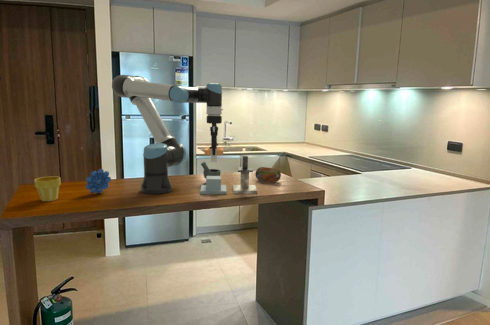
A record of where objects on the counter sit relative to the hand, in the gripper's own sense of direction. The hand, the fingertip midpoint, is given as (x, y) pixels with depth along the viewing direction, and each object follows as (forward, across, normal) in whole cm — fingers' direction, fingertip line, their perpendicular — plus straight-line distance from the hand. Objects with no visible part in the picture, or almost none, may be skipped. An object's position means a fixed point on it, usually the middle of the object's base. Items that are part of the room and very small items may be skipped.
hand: (214, 159), depth 180 cm
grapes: (+16, -5, +56) cm, 59 cm away
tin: (+17, +22, -31) cm, 41 cm away
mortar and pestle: (+16, +18, +2) cm, 24 cm away
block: (+16, 0, 0) cm, 16 cm away
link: (-3, 0, 0) cm, 3 cm away
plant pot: (+16, -17, +74) cm, 78 cm away
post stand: (+16, +1, -16) cm, 23 cm away
